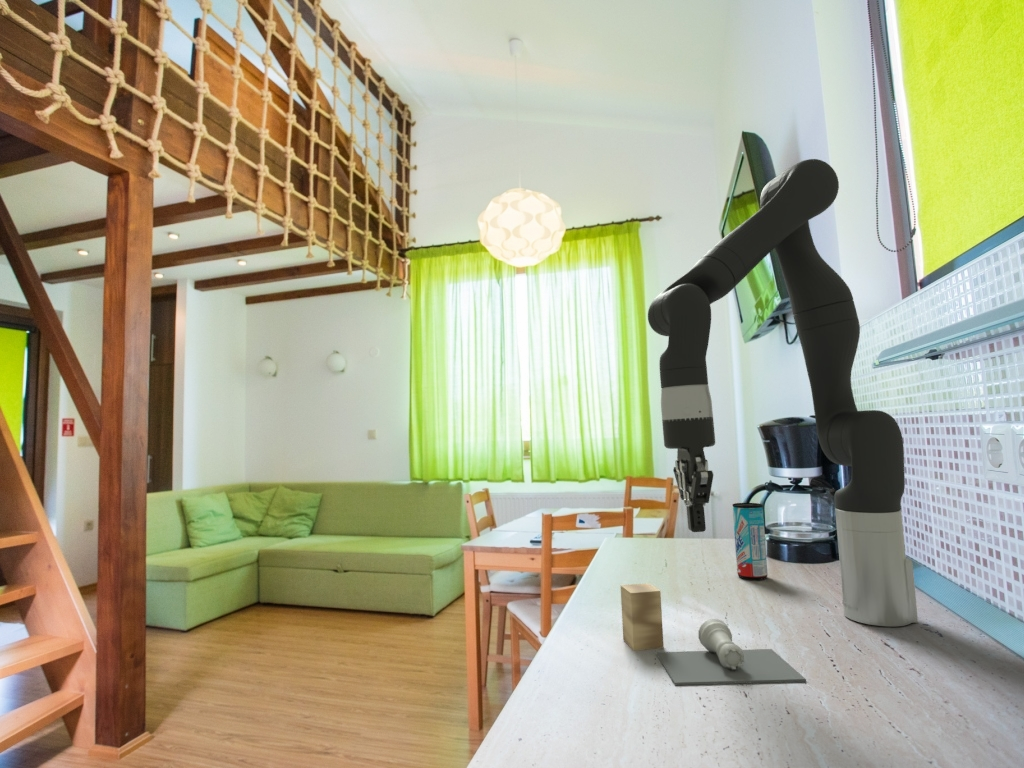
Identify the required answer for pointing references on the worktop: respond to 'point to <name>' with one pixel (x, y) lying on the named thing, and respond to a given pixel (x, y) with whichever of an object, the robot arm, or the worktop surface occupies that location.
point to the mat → (710, 670)
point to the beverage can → (750, 541)
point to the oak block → (642, 616)
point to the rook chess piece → (721, 643)
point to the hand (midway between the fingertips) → (697, 530)
